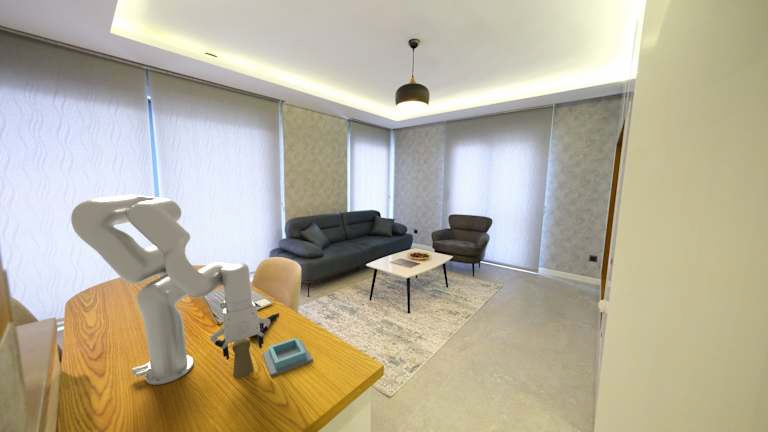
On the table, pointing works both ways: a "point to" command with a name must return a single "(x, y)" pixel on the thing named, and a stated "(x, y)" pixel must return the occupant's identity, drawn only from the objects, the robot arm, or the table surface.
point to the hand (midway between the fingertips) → (244, 351)
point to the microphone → (270, 322)
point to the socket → (286, 356)
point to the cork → (242, 358)
